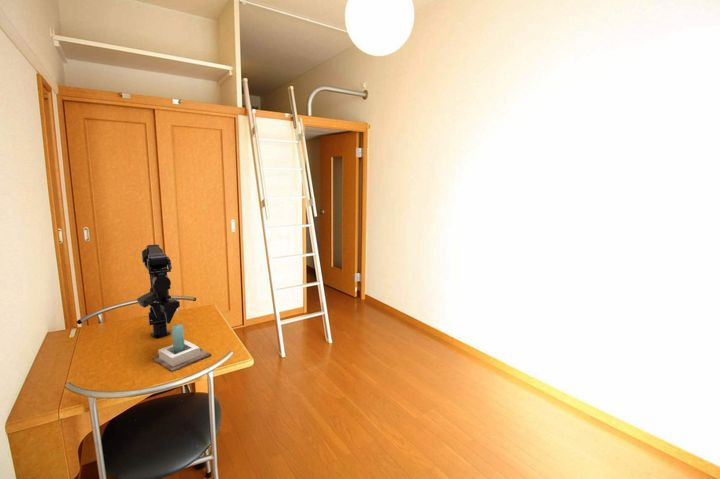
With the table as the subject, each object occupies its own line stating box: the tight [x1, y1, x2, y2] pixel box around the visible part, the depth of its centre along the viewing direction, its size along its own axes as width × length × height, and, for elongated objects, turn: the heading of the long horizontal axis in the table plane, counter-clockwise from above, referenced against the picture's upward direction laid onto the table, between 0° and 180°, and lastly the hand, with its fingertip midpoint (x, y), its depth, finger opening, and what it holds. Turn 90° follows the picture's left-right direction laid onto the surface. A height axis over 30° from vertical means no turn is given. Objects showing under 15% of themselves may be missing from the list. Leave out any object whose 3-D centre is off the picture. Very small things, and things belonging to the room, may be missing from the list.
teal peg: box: [171, 323, 185, 354], centre depth 141 cm, size 4×4×13 cm
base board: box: [151, 347, 212, 373], centre depth 143 cm, size 16×16×1 cm
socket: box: [157, 339, 201, 366], centre depth 142 cm, size 11×11×4 cm
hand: (163, 320), depth 147 cm, fingers open, 9 cm apart
